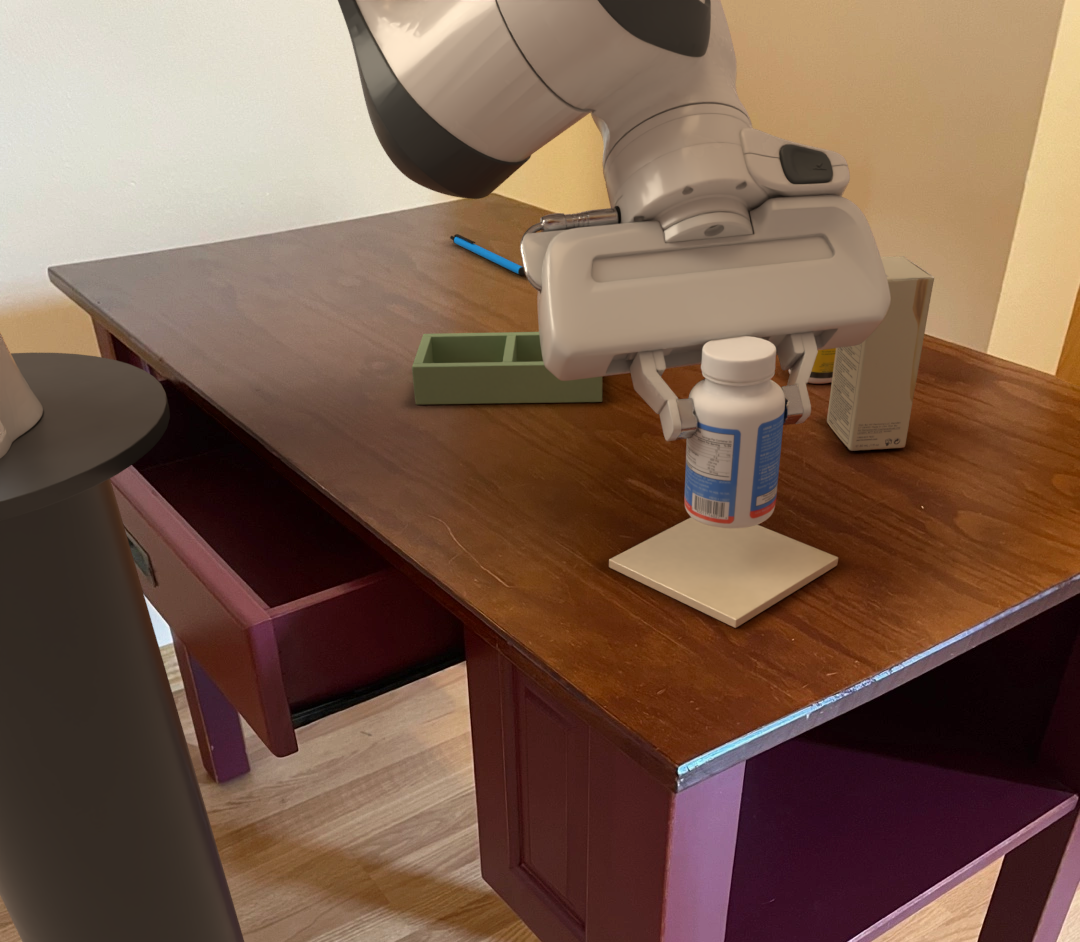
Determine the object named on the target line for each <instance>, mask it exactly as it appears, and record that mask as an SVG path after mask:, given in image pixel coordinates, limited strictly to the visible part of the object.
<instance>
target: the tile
mask: <svg viewBox="0 0 1080 942" xmlns="http://www.w3.org/2000/svg"><path fill="white" fill-rule="evenodd" d="M838 562H839V557H838V556H836V555H834V554H831V553H829V552H826V551H824V550H821V549H820V548H816V547H814V546H812V545H809V544H807V543H804V542H802V541H800V540H797V539H794V538H791V537H790V536H787V535H784V534H782V533H780V532H777V531H774V530H772V529H769V528H767V527H764V526H762V525H760V524H757V525H754V526H751V527H745V528H720V527H713V526H709V525H706V524H703V523H700V522H698V521H696V520H695V519H693V518H692V517H691V516H690V517H688V518H687V519H685V520H683V521H680V522H679V523H677V524H675V525H673V526H671V527H669V528H667V529H665V530H663V531H661V532H660V533H657V534H655V535H653V536H652V537H649V538H647V539H645V540H644V541H642V542H640V543H638V544H636V545H634V546H632V547H631V548H627V550H625V551H623V552H620V553H619V554H616V555H615V556H613V557H611V558H609V559H608V568H610V569H612V570H614V571H616V572H618V573H620V574H622V575H624V576H626V577H628V578H630V579H632V580H634V581H636V582H638V583H640V584H643V585H645V586H647V587H649V588H651V589H653V590H655V591H657V592H659V593H661V594H663V595H665V596H667V597H670V598H672V599H674V600H676V601H678V602H680V603H682V604H684V605H687V606H688V607H690V608H693V609H694V610H697V611H698V612H701V613H703V614H705V615H707V616H709V617H711V618H713V619H715V620H718V621H719V622H722V623H724V624H726V625H728V626H730V627H732V628H735V629H737V628H738V627H740V626H742V625H743V624H744V623H746V622H748V621H749V620H751V619H753V618H754V617H756V616H758V615H759V614H761V613H763V612H764V611H766V610H767V609H770V608H771V607H773V606H774V605H776V604H777V603H779V602H780V601H782V600H784V599H785V598H787V597H789V596H790V595H792V594H793V593H795V592H796V591H798V590H800V589H801V588H803V587H804V586H806V585H808V584H809V583H811V582H813V581H814V580H816V579H817V578H820V577H821V576H822V575H824V574H826V573H827V572H829V571H830V570H832V569H834V568H835V567H837V566H838Z"/></svg>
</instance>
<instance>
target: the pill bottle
mask: <svg viewBox="0 0 1080 942" xmlns="http://www.w3.org/2000/svg"><path fill="white" fill-rule="evenodd" d="M776 359H777V355H776V347H775V346H774V344H772V343H771V342H769V341H767V340H764V339H761V338H757V337H750V336H742V337H734V338H726V339H719V340H711V341H709V342H707V343H706V344H705V345H704V346H703V349H702V363H701V364H700V370H701V374H702V377H704V378H703V379H701V380H700V381H698V382H696V384H694V385H693V387H692V388H691V390H690V391H689V393H688V394H689V395H688V398H692V399H693V404H694V408H695V409H694V412H693V414H694V415H695V416H696V417H697V422H698V428H697V431H696V433H694V434H693V436H692V438H687V439H685V441H686V442H685V443H686V444H685V445H686V447H685V472H684V473H685V476H684V500H683V501H684V509H685V511H686V513H687V514H688V516H689V517H690V518H691V517H692V518H693V519H695V520H696V521H698V522H700V523H703V524H706V525H709V526H713V527H720V528H745V527H751V526H754V525H760V524H762V523H763V522H765V521H767V520H768V519H770V517H771V516H772V515H773V513H774V511H775V508H776V502H777V495H778V483H779V473H780V464H781V463H780V462H781V453H782V443H783V442H782V441H783V430H784V425H783V422H784V410H785V395H784V392H783V390H782V389H781V387H782V386H780V385H779V384H778V383H777V382H775V380H772V378H773V377H774V376H775V374H776V371H775V370H776V362H777V361H776Z"/></svg>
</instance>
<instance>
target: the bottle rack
mask: <svg viewBox="0 0 1080 942" xmlns="http://www.w3.org/2000/svg"><path fill="white" fill-rule="evenodd" d="M417 348H418V349H417V351H416V354H415V357H414V360H413V362H412V366H411V372H412V382H413V383H412V384H413V391H414V392H413V393H414V402H415V405H417V406H420V405H421V406H423V405H478V404H479V405H480V404H481V405H485V404H487V405H488V404H489V405H490V404H491V405H492V404H494V405H495V404H551V403H553V404H556V403H557V404H560V403H561V404H563V403H602V402H603V376H602V377H594V378H585V379H577V380H569V381H561V380H559V379H558V378H557V377H555V376H554V375H553V374H552V373H551V372H550V371H549V370H548V369H547V368H546V367H545V366H544V362H543V357H542V351H541V345H540V336H539V331H509V332H508V331H507V332H506V331H505V332H501V331H500V332H452V333H451V332H450V333H449V332H448V333H446V332H444V333H443V332H442V333H423V334H422V336H421V340H420V343H419V345H418V347H417Z"/></svg>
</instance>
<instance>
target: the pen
mask: <svg viewBox="0 0 1080 942" xmlns="http://www.w3.org/2000/svg"><path fill="white" fill-rule="evenodd" d="M449 238H450V240H452V242H453V243H454V244H455V245H457V246H459V247H461V248H463V249H465V250H467V251H469V252H472V253H473V254H475V255H477V256H479V257H482V258H484V259H486V260H488V261H490V262H492V263H494V264H495V265H498V266H500V267H502V268H504V269H506V270H508V271H510V272H513V273H514V274H516V275H519V276H525V277H526V275H525V273H524V268H523V265H520V264H518V263H516V262H514V261H512V260H509V259H508V258H505V257H503V256H501V255H499V254H497V253H495V252H493V251H490V250H488V249H487V248H484V247H482V246H480V245H478V244H476V241H474V240H471V239H470V238H468V237H465V236H464V235H461V234H459V233H456V234H454V235H450V237H449Z"/></svg>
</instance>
